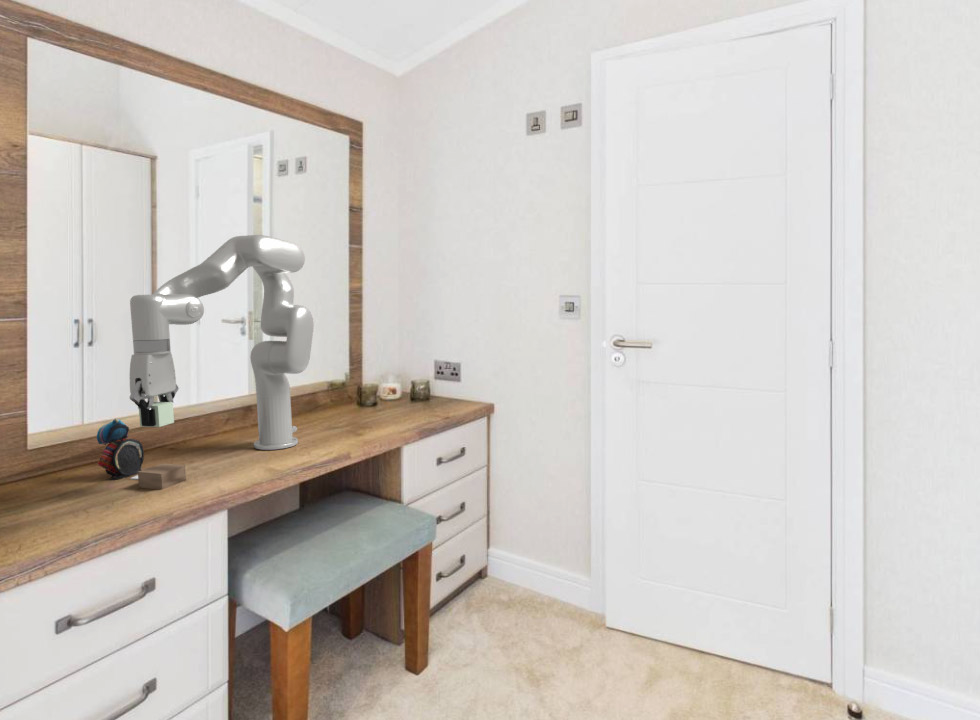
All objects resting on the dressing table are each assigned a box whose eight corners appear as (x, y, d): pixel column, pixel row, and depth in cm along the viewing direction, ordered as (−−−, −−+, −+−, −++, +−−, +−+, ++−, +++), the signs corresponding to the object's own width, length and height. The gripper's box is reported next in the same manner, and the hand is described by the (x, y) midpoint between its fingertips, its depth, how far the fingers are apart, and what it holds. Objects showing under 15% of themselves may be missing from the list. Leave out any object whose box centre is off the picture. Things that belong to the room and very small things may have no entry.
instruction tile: (153, 469, 150) (153, 468, 150) (171, 470, 149) (170, 468, 149) (130, 479, 142) (130, 477, 142) (148, 480, 141) (148, 478, 141)
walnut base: (163, 478, 143) (162, 463, 142) (186, 481, 141) (184, 465, 140) (139, 488, 136) (137, 471, 136) (162, 490, 134) (161, 473, 134)
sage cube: (155, 422, 139) (154, 401, 139) (174, 422, 139) (172, 402, 138) (140, 426, 135) (138, 405, 134) (159, 427, 134) (157, 405, 133)
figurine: (131, 468, 152) (126, 412, 150) (149, 470, 149) (145, 414, 147) (92, 479, 142) (87, 420, 141) (111, 482, 140) (106, 422, 138)
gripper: (163, 344, 144) (168, 415, 145) (108, 350, 127) (115, 431, 129) (190, 344, 143) (195, 416, 144) (139, 350, 126) (145, 431, 128)
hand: (157, 422), depth 137 cm, fingers closed on sage cube, 5 cm apart
